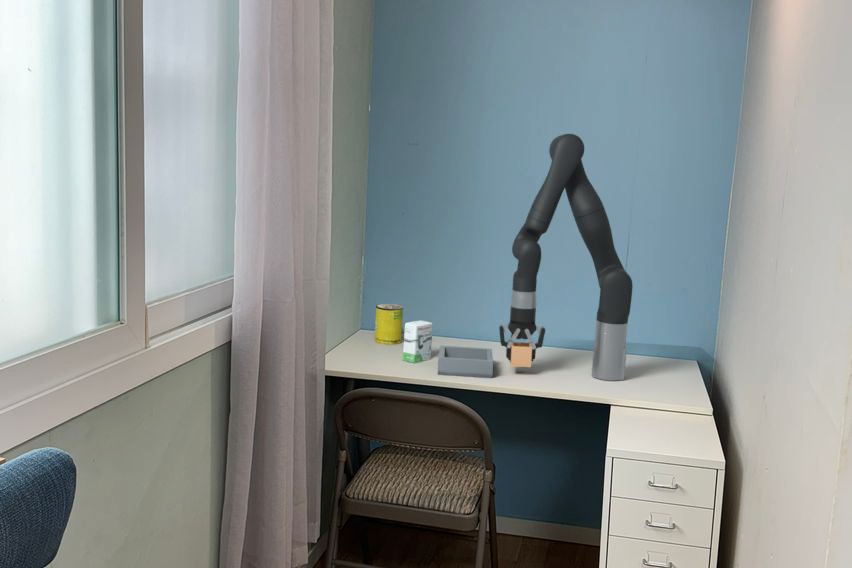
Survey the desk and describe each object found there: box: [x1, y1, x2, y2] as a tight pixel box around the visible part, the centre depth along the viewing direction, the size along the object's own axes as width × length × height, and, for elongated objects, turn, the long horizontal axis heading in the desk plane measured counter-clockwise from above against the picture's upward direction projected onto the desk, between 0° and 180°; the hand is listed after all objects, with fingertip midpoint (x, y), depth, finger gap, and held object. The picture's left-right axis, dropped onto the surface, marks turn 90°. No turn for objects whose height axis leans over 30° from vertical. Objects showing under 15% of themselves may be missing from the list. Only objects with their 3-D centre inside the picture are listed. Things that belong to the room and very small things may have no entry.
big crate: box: [437, 345, 494, 379], centre depth 270 cm, size 16×16×5 cm
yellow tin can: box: [374, 303, 404, 346], centre depth 300 cm, size 9×9×12 cm
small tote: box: [509, 341, 532, 368], centre depth 268 cm, size 6×6×6 cm
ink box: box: [402, 319, 434, 364], centre depth 278 cm, size 9×5×12 cm, turn 142°
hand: (520, 360), depth 269 cm, fingers closed on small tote, 6 cm apart
